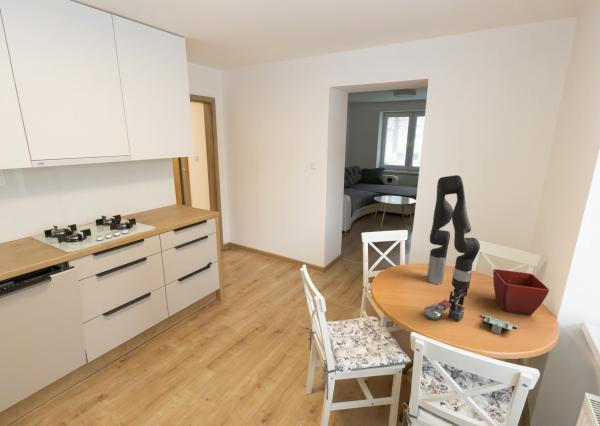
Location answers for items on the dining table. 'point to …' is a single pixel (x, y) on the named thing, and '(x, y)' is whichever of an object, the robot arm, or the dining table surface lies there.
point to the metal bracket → (498, 324)
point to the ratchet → (436, 310)
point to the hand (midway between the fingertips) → (456, 307)
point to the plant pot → (518, 291)
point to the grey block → (456, 313)
